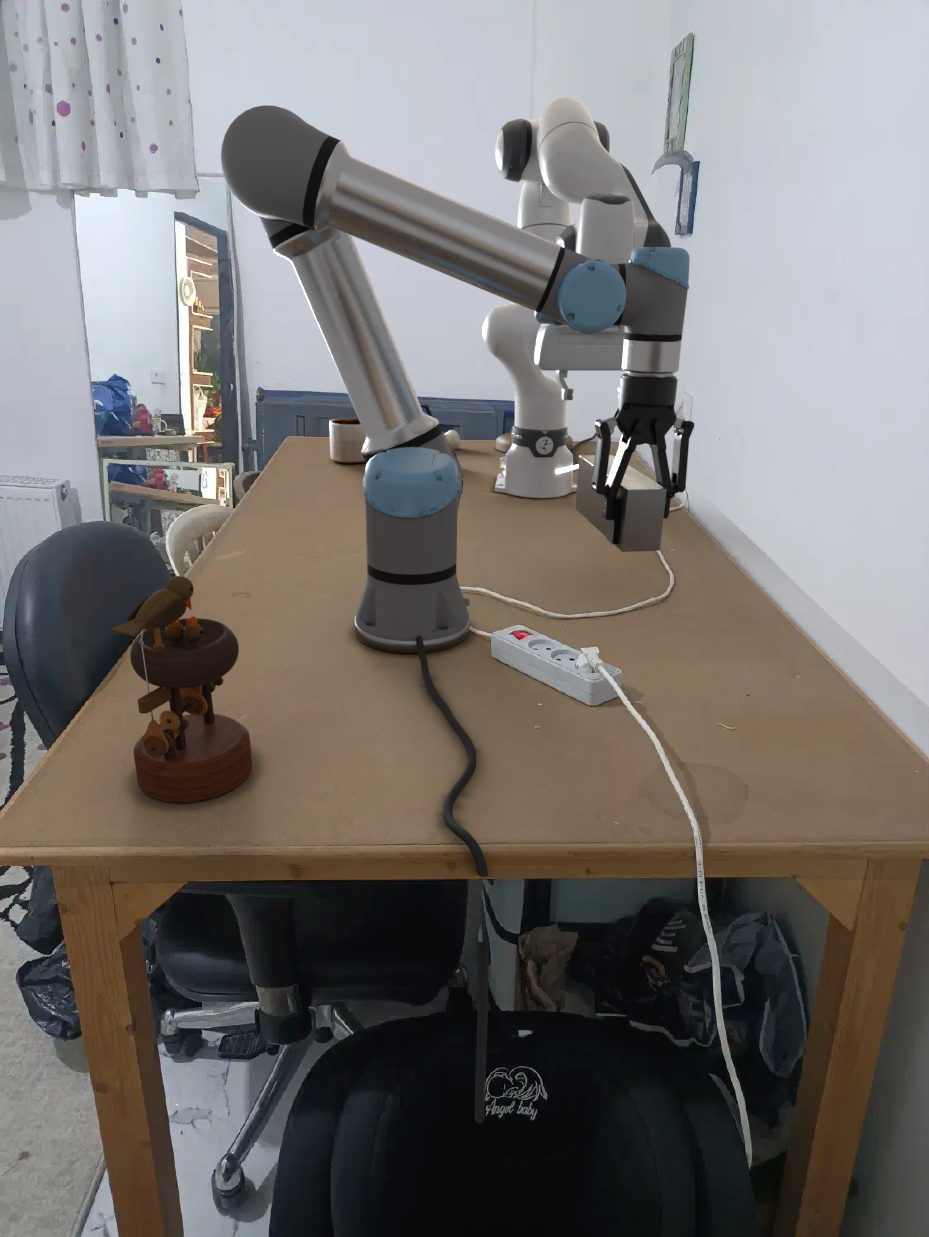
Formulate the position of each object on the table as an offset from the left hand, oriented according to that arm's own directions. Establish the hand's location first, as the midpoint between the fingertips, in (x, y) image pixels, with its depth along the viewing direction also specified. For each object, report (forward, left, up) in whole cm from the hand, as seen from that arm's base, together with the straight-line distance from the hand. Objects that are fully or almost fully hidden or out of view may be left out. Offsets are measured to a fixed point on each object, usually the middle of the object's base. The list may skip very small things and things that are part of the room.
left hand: (633, 540), depth 121 cm
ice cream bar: (+108, +16, -9) cm, 109 cm away
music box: (-51, +45, -9) cm, 69 cm away
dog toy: (+109, +47, -9) cm, 119 cm away
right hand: (+23, +6, +16) cm, 29 cm away
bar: (+8, +2, -1) cm, 8 cm away
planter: (+91, +62, -9) cm, 111 cm away
